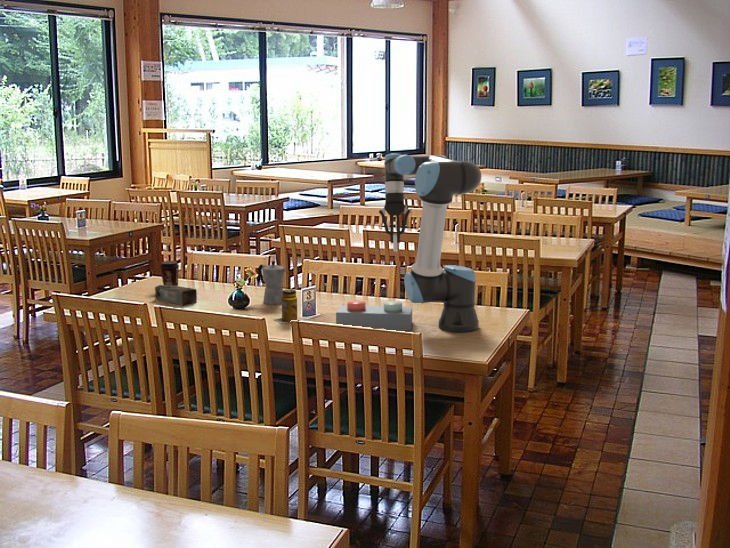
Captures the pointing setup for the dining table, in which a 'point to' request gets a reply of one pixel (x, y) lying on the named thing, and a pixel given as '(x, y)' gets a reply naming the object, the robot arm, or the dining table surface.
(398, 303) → the teal button
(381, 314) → the control box
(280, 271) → the coffeepot
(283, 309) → the condiment
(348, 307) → the red button
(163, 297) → the dark grey brick
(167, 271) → the coffee cup
